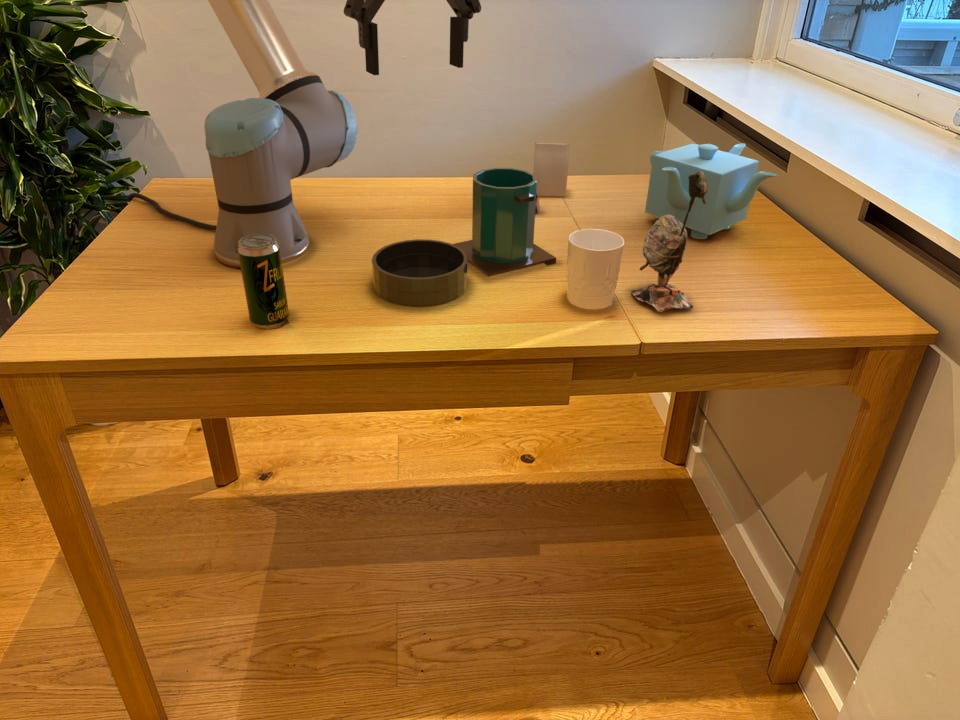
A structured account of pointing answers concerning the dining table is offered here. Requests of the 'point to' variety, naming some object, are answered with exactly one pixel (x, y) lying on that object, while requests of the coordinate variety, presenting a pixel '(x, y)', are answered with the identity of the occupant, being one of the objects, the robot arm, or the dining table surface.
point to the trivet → (494, 268)
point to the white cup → (593, 267)
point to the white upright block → (551, 168)
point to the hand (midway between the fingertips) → (415, 69)
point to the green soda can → (263, 280)
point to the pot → (503, 215)
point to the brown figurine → (668, 253)
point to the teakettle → (725, 178)
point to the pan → (420, 272)
